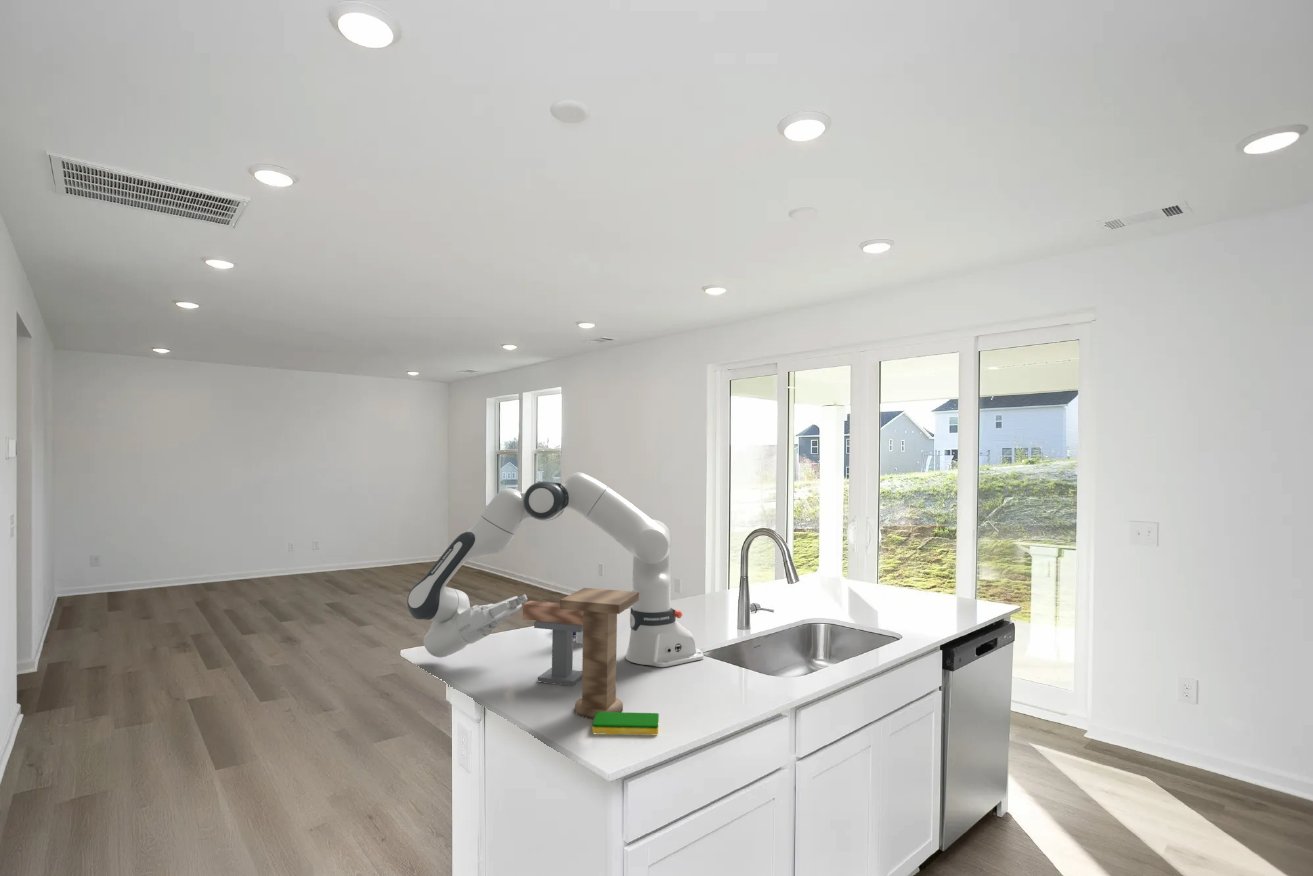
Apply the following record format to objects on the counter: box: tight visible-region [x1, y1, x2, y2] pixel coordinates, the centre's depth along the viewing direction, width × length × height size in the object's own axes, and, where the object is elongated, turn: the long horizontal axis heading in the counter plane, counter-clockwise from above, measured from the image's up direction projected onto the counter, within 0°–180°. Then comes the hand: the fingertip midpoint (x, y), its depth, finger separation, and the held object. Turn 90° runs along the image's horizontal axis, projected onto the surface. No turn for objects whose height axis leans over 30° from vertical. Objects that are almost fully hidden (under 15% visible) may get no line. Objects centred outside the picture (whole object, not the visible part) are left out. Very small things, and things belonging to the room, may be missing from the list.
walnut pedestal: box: [559, 587, 639, 720], centre depth 155 cm, size 14×14×26 cm
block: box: [522, 600, 583, 625], centre depth 175 cm, size 19×4×4 cm, turn 73°
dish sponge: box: [592, 711, 660, 735], centre depth 145 cm, size 7×14×2 cm, turn 89°
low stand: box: [533, 620, 583, 687], centre depth 175 cm, size 13×8×15 cm, turn 73°
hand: (517, 600), depth 179 cm, fingers open, 8 cm apart
